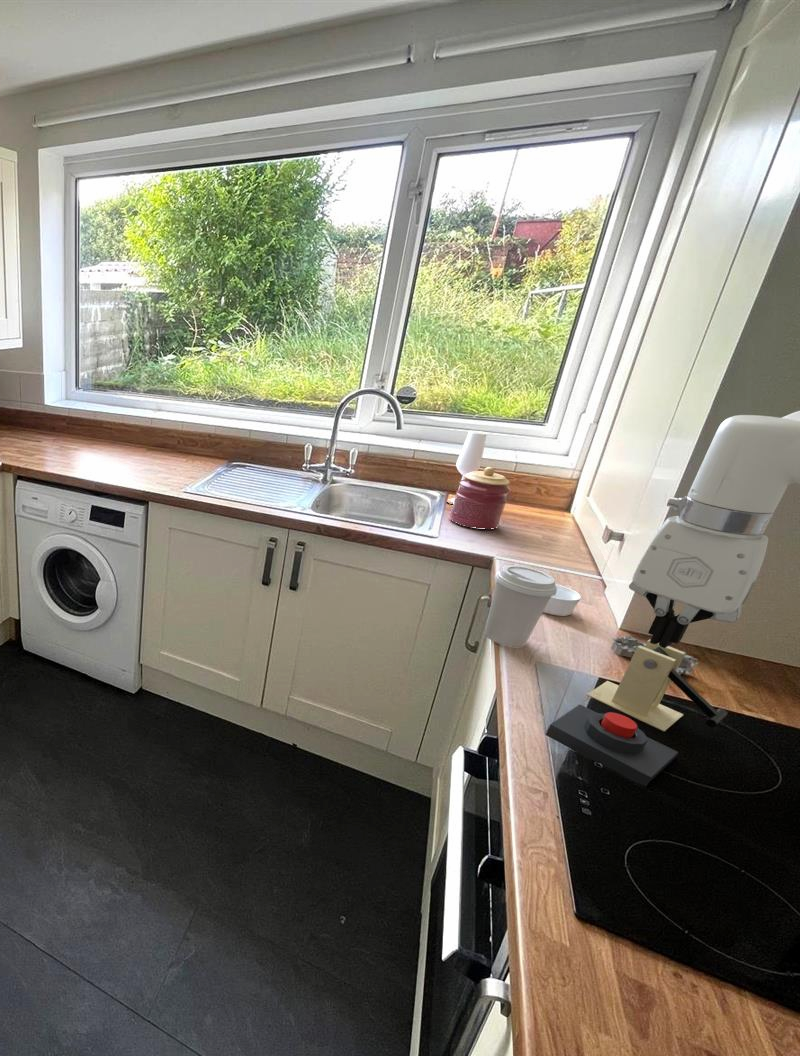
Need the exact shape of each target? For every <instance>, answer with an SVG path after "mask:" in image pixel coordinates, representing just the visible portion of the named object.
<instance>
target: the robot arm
mask: <svg viewBox="0 0 800 1056" xmlns="http://www.w3.org/2000/svg"><path fill="white" fill-rule="evenodd" d="M792 484H795V485H800V410H797V411H794V412H792V413H789V414H787V415H785V416H782V417H778V416H768V415H757V414H738V415H733V416H730V417H728V418H726V419H724V420H723V421H722V422H721V423H720V425H718V428H717V430H716V432H715V433H714V436H713V438H712V441H711V443H710V445H709V447H708V449H707V452H706V454H705V455H704V458H703V460H702V462H701V465H700V466H699V469H698V471H697V474H696V475H695V478H694V480H693V482H692V485H691V486H690V489H689V491H688V493H687V495H685V496H684V497H681V496H680V497H675V496H671V497H670V498H669V499H668V501H667V503H666V507H668V508H673V509H674V510H676V512H677V513H676V515H673V516H669V517H668V518H667V519H666V520H665V521H664V522H663V523H662V524H661V526H660V527H659V529H658V530H657V531H656V533H655V534H654V536H653V538H652V539H651V541H650V543H649V545H648V546H647V547H646V550H645V551H644V553H643V555H642V557H641V559H640V560H639V563H638V565H637V566H636V569H635V570H634V573H633V576H632V578H631V579H632V580H631V582H630V583H629V585H628V588H629V589H630V590H631V591H633V592H634V593H636V594H638V595H640V596H642V597H644V598H646V600H647V601H648V603H649V604H650V606H651V607H652V608H653V614H654V615H655V617H654V619H653V621H652V623H651V625H650V628H649V629H648V632H647V633H648V634H649V635H652V636H651V638H650V639H651V640H650V643H652V644H658V643H659V644H658V645H660V647H663V648H666V647H668V646H669V647H670V646H671V645H672V644H676V645H678V644H679V643H680V642H681V641H682V639H683V637H684V635H685V633H686V631H687V629H688V627H689V625H690V624H691V623H696V622H700V621H704V620H714V621H719V622H726V623H736V622H737V621H738V620H740V618H741V612H742V606H743V605H744V603H745V602H746V601H747V600H748V598H749V596H750V594H751V592H752V590H753V588H754V586H755V583H756V580H757V578H758V576H759V574H760V570H761V568H762V565H763V563H764V560H765V557H766V553H767V549H768V544H769V537H768V536H767V535H764V532H765V530H766V528H767V527H768V525H769V523H770V521H771V519H772V517H773V515H774V514H775V512H776V509H777V507H778V506H779V504H780V501H781V500H782V498H783V496H784V494H785V493H786V490H787V489H788V486H789V485H792ZM676 602H678V603H681V604H683V605H686V606H685V607H684V609H683V610H682V611H681V613H678V614H677V615H676V613H675V610H674V609H675V605H676Z"/></svg>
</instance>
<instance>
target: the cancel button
mask: <svg viewBox="0 0 800 1056" xmlns="http://www.w3.org/2000/svg"><path fill="white" fill-rule="evenodd" d="M604 714H605V716H604V718H603V720H602V722H601V726H602V727H603V728H604V729H606V730H607V731H609V732H611V733H613V734H615V735H617V736H621V737H624V738H631V737H633V735H634V733H635V731H636V729H637V728H638V724H637V723H636V721H634V720H632V719H631V718H630V717H628V716H626V715H623V714H621V713H617V712H613V711H612V712H606V713H604Z"/></svg>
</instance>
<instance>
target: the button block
mask: <svg viewBox="0 0 800 1056" xmlns="http://www.w3.org/2000/svg"><path fill="white" fill-rule="evenodd" d="M605 714H606V713H599V712H596V711H594V710H593V709H590V708H588V707H587V706H584V705H582V704H578V705H577V706H575V707H573V708H572V709H571V710H569V711H568V712H566V713H565V714H563V715H562V716H561V717H559V718H557V719H556V720H554V721H553V722H551V723H550V724H549V726H548V728H547V731H546V733H545V736H546V737H548V738H550V739H551V740H554V741H555V742H557V743H560V744H561V745H563V746H565V747H566V748H569V749H571V750H572V751H574V752H576V753H577V754H579V753H580V754H579V755H581V754H582V755H581V756H583V755H584V756H583V757H585V756H586V757H585V758H587V757H588V758H587V759H589V758H590V759H591V761H592V760H593V761H592V762H594V761H596V762H598V763H601V764H602V765H604V766H606V767H608V768H610V769H612V770H614V771H616V772H618V773H620V774H622V775H623V776H625V777H627V778H628V779H630V780H632V781H634V782H636V783H639V784H641V785H644V786H647V785H648V784H650V782H651V781H653V780H654V779H655V778H656V777H657V776H658V775H659V774H660V773H661V772H662V771H663V770H665V769H666V768H667V766H669V765H670V764H671V763H672V762H673V761H674V760H675V759H676V757H677V756H678V754H679V752H678V751H677V750H675V749H673V748H671V747H669V746H667V745H664V744H663V743H661V742H659V741H656V740H654V739H652V738H650V737H648V736H647V735H646V733H645V732H644V731H643V730H641V729H640V728H639V727H637V729H636V731H635V733H634V735H633V737H631V738H624V737H621V736H617V735H615V734H613V733H611V732H609V731H607V730H606V729H604V728H603V727H602V726H601V722H602V720H603V718H604V716H605ZM590 759H589V760H590ZM596 762H595V763H596ZM598 763H597V764H598ZM602 765H601V766H602Z"/></svg>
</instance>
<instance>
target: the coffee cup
mask: <svg viewBox="0 0 800 1056" xmlns="http://www.w3.org/2000/svg"><path fill="white" fill-rule="evenodd" d="M493 577H494V580H495V586H494V590H493V594H492V599H491V601H490V607H489V611H488V615H487V616H488V617H487V620H486V624H485V628H484V631H483V636H485V637H486V638H487V639H489V641H492V642H493V643H496V644H499V645H501V646H505V647H508V648H513V649H514V648H515V649H516V648H517V649H519V648H524V647H525V646H526V644H527V642H528V640H529V639H530V637H531V635H532V634H533V631H534V629H535V627H536V626H537V623H538V622H539V621H540V618H541V616H542V614H543V613H544V612H543V611H544V609H545V607H546V605H547V603H548V601H549V600H550V598H551V596H553V595H555V594H556V593H557V588H556V585H555V584H556V579H555V578H554V577H553V576H552V575H551V574H549V573H547V572H545V571H542V570H540V569H538V568H533V567H529V566H524V565H520V564H519V565H517V564H509V565H505V566H503V567H502V569H500V570H498V572H496V573H495V575H494V576H493Z"/></svg>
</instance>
